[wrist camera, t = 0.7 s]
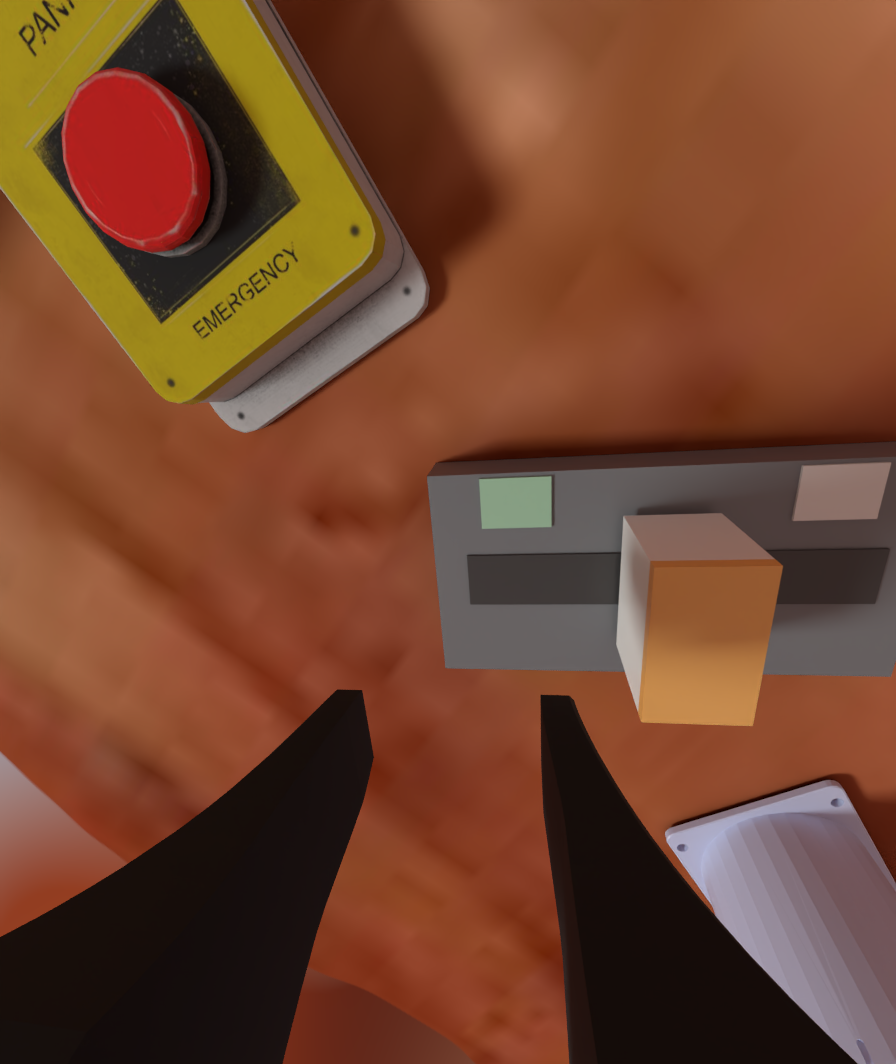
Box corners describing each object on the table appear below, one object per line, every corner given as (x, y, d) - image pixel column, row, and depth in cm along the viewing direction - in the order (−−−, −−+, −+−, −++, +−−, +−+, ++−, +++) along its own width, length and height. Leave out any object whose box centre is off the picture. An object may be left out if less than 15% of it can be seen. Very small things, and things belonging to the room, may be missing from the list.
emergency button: (176, 467, 15) (-245, -66, 12) (247, 439, 19) (-47, 38, 16) (417, 290, 13) (-35, -491, 9) (442, 301, 17) (140, -230, 13)
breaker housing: (908, 440, 16) (962, 454, 14) (854, 644, 19) (892, 678, 17) (435, 462, 19) (426, 477, 17) (451, 639, 21) (445, 669, 20)
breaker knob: (721, 513, 15) (782, 565, 12) (703, 645, 17) (753, 726, 14) (623, 515, 16) (654, 567, 12) (616, 644, 18) (641, 722, 14)
